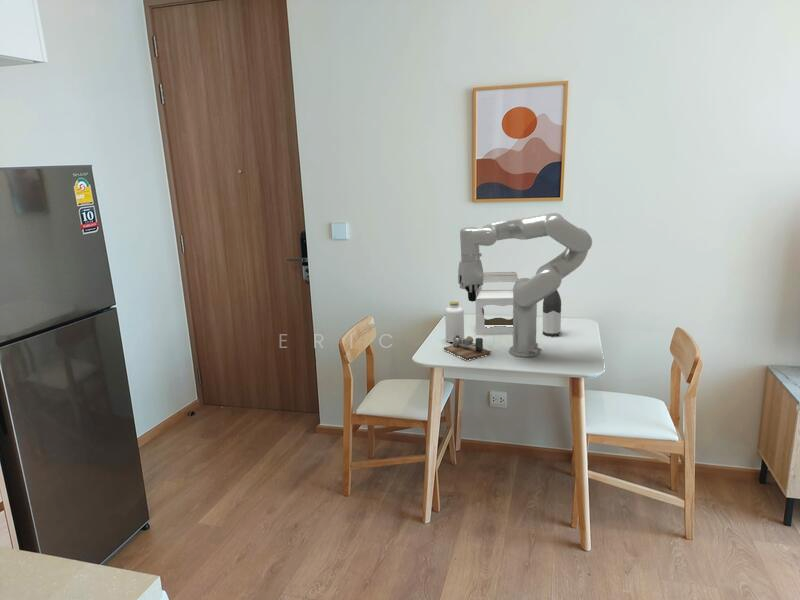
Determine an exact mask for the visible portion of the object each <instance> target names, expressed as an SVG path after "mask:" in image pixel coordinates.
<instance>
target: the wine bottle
mask: <svg viewBox="0 0 800 600" xmlns="http://www.w3.org/2000/svg"><path fill="white" fill-rule="evenodd" d="M561 324H562V299H561V294H560V293H559V291H558V289H557V290H556V291H555V292H553V293H552V294H550V295H549V296H547V297H545V298H544V299H542V335H544V336H545V337H549V336H551V338H552V337H553V338H554V337H560V335H561V329H562V327H561V326H562V325H561Z"/></svg>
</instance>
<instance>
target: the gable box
mask: <svg viewBox="0 0 800 600" xmlns="http://www.w3.org/2000/svg"><path fill="white" fill-rule="evenodd" d="M483 276H484V280H483V284H484V283H514V284H515V283H516V282H517V281H518V280H519V279H520V278H518V273H517V272H516V271H503V272H502V271H501V272H500V271H499V272H498V271H497V272H483ZM482 288H483V285H482V286H479V288H478V289H477V291H476V301H475V332H476V333H477V334H476V333H475V334H476V335H513V327H506V326H494V327H490V328H487V327H485V326H484V325H513V317H512V318H509V319H508V318H504V317H493V318H489V319H487V318H485V316H484V315H485V310H484V307H485V306H490V305H491V306H492V305H493V306H498V307H499V306H500V307H505V306H513V289H485V290H483V289H482Z"/></svg>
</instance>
